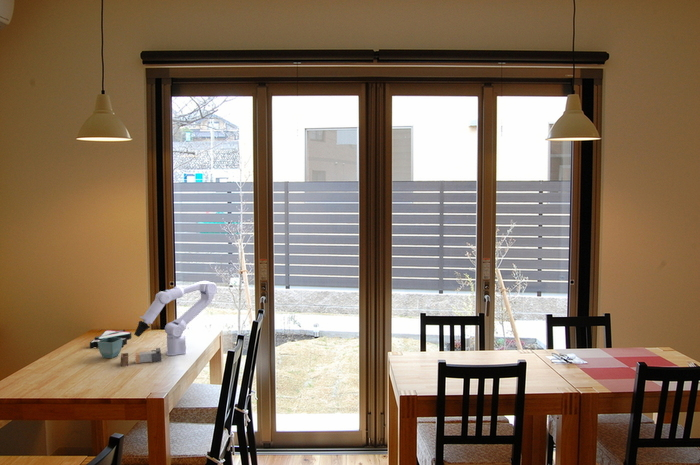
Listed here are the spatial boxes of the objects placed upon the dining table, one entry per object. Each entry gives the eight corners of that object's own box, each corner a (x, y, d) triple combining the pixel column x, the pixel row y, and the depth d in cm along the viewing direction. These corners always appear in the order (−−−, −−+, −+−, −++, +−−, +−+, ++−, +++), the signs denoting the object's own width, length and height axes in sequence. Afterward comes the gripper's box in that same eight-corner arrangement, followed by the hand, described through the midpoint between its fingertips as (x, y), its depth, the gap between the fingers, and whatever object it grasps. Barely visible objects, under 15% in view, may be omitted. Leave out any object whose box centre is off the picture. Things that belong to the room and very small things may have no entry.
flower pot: (112, 360, 269) (112, 342, 268) (97, 359, 270) (96, 341, 270) (123, 354, 277) (123, 338, 277) (108, 353, 279) (108, 337, 278)
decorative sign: (87, 344, 285) (101, 330, 315) (88, 350, 286) (101, 336, 315) (123, 342, 289) (134, 328, 318) (123, 348, 289) (134, 334, 319)
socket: (128, 361, 266) (128, 352, 266) (128, 365, 260) (127, 356, 260) (121, 362, 265) (121, 353, 265) (121, 366, 259) (120, 357, 258)
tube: (160, 358, 271) (160, 350, 270) (161, 360, 267) (161, 352, 267) (135, 360, 266) (135, 352, 266) (135, 363, 262) (135, 355, 262)
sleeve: (160, 357, 272) (160, 347, 271) (161, 361, 266) (161, 350, 266) (151, 359, 270) (151, 348, 270) (151, 362, 264) (151, 351, 264)
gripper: (144, 308, 276) (128, 331, 271) (146, 308, 263) (130, 331, 258) (156, 315, 278) (140, 338, 273) (159, 315, 265) (142, 339, 260)
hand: (136, 335), depth 266 cm, fingers open, 7 cm apart
